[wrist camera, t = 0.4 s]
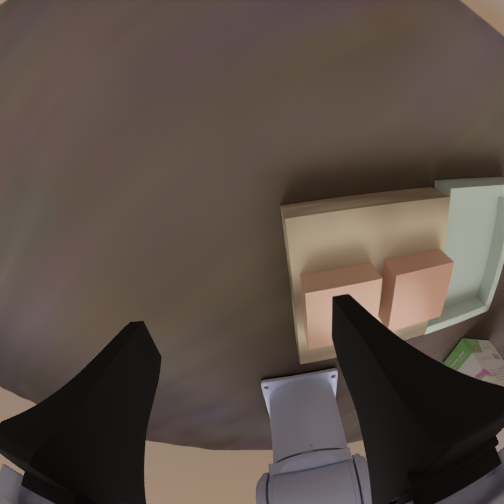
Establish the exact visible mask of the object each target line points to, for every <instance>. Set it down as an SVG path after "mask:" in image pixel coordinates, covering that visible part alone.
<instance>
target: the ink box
mask: <svg viewBox="0 0 504 504" xmlns="http://www.w3.org/2000/svg"><path fill="white" fill-rule="evenodd" d="M443 364H444V365H446V366H448V367H450V368H452V369H454V370H456V371H459V372H461V373H463V374H466V375H469V376H471V377H474V378H476V379H479V380H482V381H486V382H490V383H493V384H497V385H500V386H504V361H503V360H502V358H501V357H500V355H499V354H498V352H497V351H496V350H495V348H494V347H493V345H492V344H491V343H490V341H488V340H477V339H468V338H462V339H461V341H460V342H459V343H458V345H457V346H456V347H455V349H454V350H453V351H452V352H451V353H450V355H449V356H448V357H447V359H446V360H445V361H444V362H443Z"/></svg>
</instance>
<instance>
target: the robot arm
mask: <svg viewBox="0 0 504 504" xmlns="http://www.w3.org/2000/svg"><path fill="white" fill-rule="evenodd" d="M332 340H333V344H334V348H335V352H336V356H337V360H338V362H339V365H340V368H341V370H342V373H343V376H344V378H345V381H346V384H347V386H348V389H349V392H350V394H351V397H352V400H353V402H354V405H355V408H356V411H357V415H358V419H359V423H360V428H361V432H362V437H363V442H364V447H365V452H366V458H367V461H366V459H365V457H363V456H360V455H359V454H355V455H353V456H351V452H350V448H348V447H347V443H346V439H345V435H344V431H343V426H342V422H341V418H340V414H339V411H338V407H337V403H336V399H335V398H336V389H337V379H338V370H337V369H336V368H332V369H327V370H322V371H316V372H311V373H306V374H300V375H294V376H287V377H281V378H274V379H266V380H263V381H261V388H262V391H263V395H264V399H265V402H266V406H267V410H268V413H269V417H270V422H271V435H272V448H273V462H274V463H273V464H269V473H264V474H263V475H262V477H261V478H260V479H259V481H258V483H257V487H256V504H504V448H503V449H501V450H500V451H499V452H498V453H497V451H496V448H495V447H496V446H497V445H498V440H497V437H496V435H497V434H498V433H499V432H500V431H501V430H502V428H504V386H500V385H497V384H493V383H490V382H486V381H482V380H479V379H476V378H474V377H471V376H469V375H466V374H463V373H461V372H459V371H456V370H454V369H452V368H450V367H448V366H446V365H444V364H442V363H440V362H438V361H436V360H434V359H432V358H430V357H429V356H427V355H425V354H424V353H422V352H421V351H419V350H417V349H416V348H414V347H412V346H411V345H410V344H408V343H407V342H405V341H404V340H402V339H401V338H400V337H398V336H397V335H396V334H394V333H393V332H392V331H391V330H389V329H388V328H387V327H386V326H385V325H383V324H382V323H381V322H380V321H379V320H377V319H376V318H375V317H374V316H373V315H372V314H370V313H369V312H368V311H367V310H366V309H365V308H364V307H363V306H362V305H360V304H359V303H358V302H357V301H356V300H355V299H354V298H353V297H352V296H351V295H349V294H344V295H339V296H333V297H332ZM160 365H161V355H160V353H159V351H158V349H157V347H156V345H155V343H154V341H153V339H152V338H151V336H150V334H149V331H148V329H147V327H146V325H145V323H144V321H138V322H130V323H129V324H128V325H126V326H125V327H124V328H123V329H122V330H121V331H120V332H119V333H118V334H117V335H116V336H115V337H114V338H113V339H112V341H111V342H110V343H109V344H108V345H107V346H106V347H105V348H104V349H103V350H102V351H101V352H100V353H99V354H98V355H97V356H96V357H95V358H94V359H93V360H92V361H91V362H90V363H89V364H88V365H87V366H86V367H85V368H84V369H83V370H82V371H81V372H80V373H79V374H77V375H76V376H75V377H74V378H73V379H72V380H71V381H69V382H68V383H67V384H66V385H64V386H63V387H62V388H61V389H59V390H58V391H57V392H55V393H54V394H52V395H51V396H49V397H48V398H46V399H45V400H44V401H42V402H40V403H39V404H37V405H36V406H34V407H32V408H30V409H28V410H26V411H25V412H23V413H20V414H19V415H16V416H14V417H12V418H9V419H7V420H4V421H2V422H1V423H0V453H1V454H2V455H3V456H4V457H6V458H7V459H8V460H10V461H11V462H12V463H14V464H15V465H16V466H18V467H19V468H21V469H22V470H24V471H25V473H24V476H23V475H21V474H19V473H18V472H16V471H14V470H13V469H11V468H10V467H8V466H6V465H2V468H1V471H0V504H146V499H145V488H144V454H145V441H146V432H147V426H148V421H149V417H150V413H151V409H152V405H153V401H154V397H155V393H156V388H157V384H158V380H159V374H160ZM352 458H353V461H352Z"/></svg>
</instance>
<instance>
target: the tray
mask: <svg viewBox="0 0 504 504" xmlns="http://www.w3.org/2000/svg"><path fill="white" fill-rule="evenodd" d="M434 189H436V190H438V191H440V192H442V193H444V194H446V195H447V196H449V197H450V204H449V215H448V224H447V232H446V240H445V247H444V253H445V254H446V255H447V256H448V257H449V258H450V259H452V260H453V261H454V264H453V269H452V274H451V278H450V283H449V287H448V291H447V295H446V298H445V302H444V306H443V309H442V313H441V316H440V317H437V318H434V319H431V320H428V324H427V327H426V330H425V334H428V333H431V332H434V331H437V330H440V329H443V328H445V327H448V326H451V325H454V324H456V323H459V322H461V321H464V320H467V319H469V318H472V317H474V316H476V315H479V314H481V313H484V312H486V311H488V310H489V308H490V305H491V302H492V299H493V296H494V293H495V290H496V287H497V284H498V281H499V278H500V274H501V271H502V267H503V264H504V177H486V178H465V179H448V180H434ZM425 334H424V335H425Z"/></svg>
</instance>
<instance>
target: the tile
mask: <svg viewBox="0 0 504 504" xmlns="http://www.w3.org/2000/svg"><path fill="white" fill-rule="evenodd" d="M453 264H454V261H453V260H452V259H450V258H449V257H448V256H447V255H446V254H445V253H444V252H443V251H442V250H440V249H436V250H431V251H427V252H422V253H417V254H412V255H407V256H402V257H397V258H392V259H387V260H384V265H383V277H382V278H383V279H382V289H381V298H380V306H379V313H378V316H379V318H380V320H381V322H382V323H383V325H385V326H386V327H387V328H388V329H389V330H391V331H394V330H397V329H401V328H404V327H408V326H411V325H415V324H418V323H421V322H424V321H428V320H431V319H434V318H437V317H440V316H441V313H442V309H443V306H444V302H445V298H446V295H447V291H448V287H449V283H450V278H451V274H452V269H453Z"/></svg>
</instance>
